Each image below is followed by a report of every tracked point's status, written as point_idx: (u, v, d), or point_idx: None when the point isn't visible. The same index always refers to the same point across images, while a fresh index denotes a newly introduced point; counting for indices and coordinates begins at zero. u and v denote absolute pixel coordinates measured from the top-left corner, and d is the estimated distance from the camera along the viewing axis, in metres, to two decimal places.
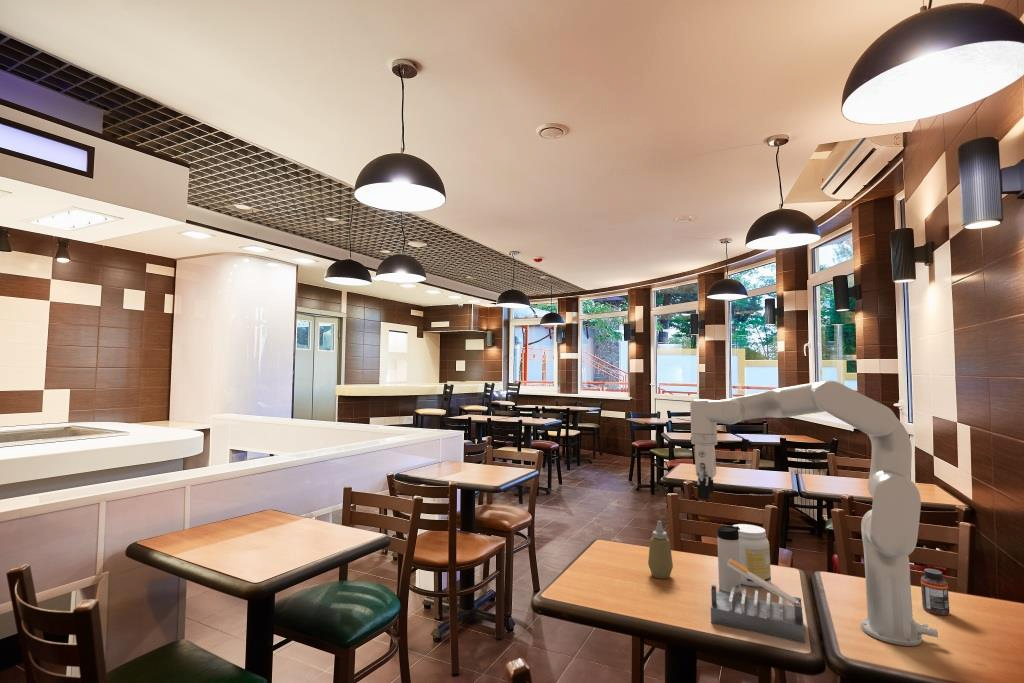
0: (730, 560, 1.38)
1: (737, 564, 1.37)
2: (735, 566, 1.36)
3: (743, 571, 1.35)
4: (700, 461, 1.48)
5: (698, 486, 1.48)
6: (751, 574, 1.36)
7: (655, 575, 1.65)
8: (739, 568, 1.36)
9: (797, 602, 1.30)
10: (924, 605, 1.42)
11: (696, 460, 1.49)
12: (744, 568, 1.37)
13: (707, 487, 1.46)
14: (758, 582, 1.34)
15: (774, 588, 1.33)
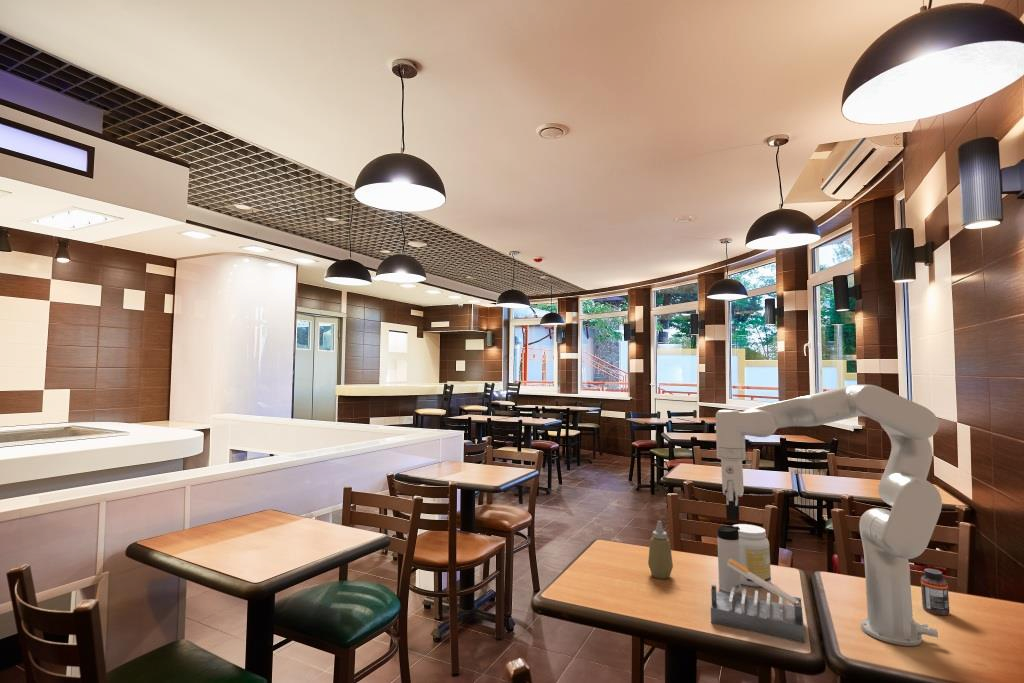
0: (730, 560, 1.38)
1: (737, 564, 1.37)
2: (735, 566, 1.36)
3: (743, 571, 1.35)
4: (728, 478, 1.36)
5: (727, 506, 1.39)
6: (751, 574, 1.36)
7: (655, 575, 1.65)
8: (739, 568, 1.36)
9: (797, 602, 1.30)
10: (924, 605, 1.42)
11: (723, 477, 1.37)
12: (744, 568, 1.37)
13: (737, 507, 1.38)
14: (758, 582, 1.34)
15: (774, 588, 1.33)
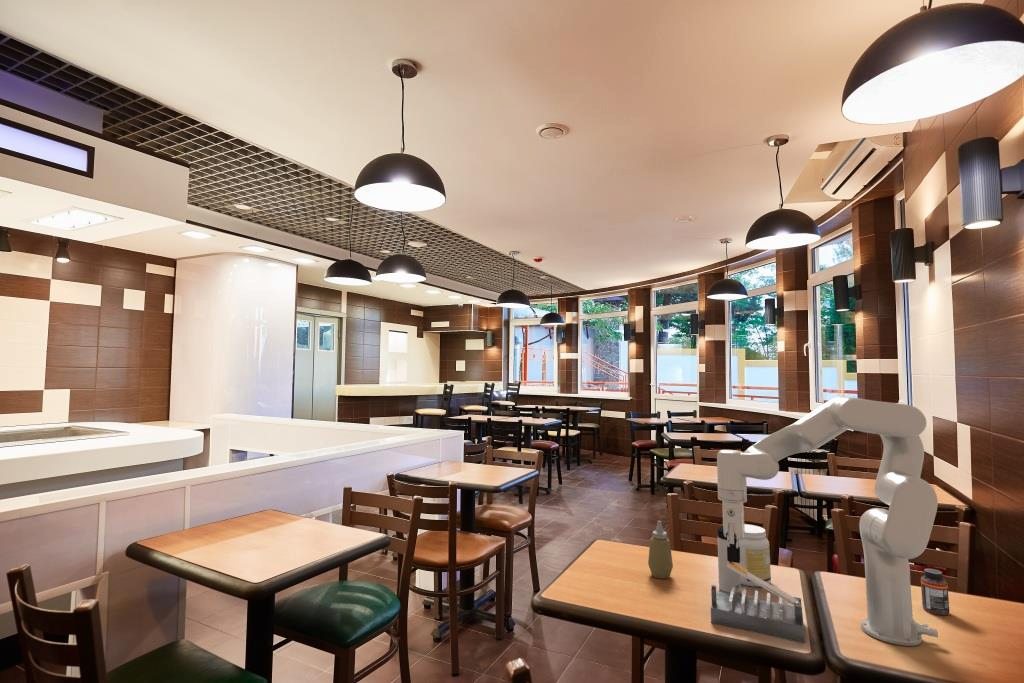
0: None
1: (736, 565, 1.37)
2: (734, 567, 1.37)
3: (743, 572, 1.36)
4: (729, 520, 1.35)
5: (728, 548, 1.38)
6: (750, 575, 1.36)
7: (655, 575, 1.65)
8: (739, 569, 1.36)
9: (797, 602, 1.30)
10: (924, 605, 1.42)
11: (724, 519, 1.36)
12: (744, 569, 1.37)
13: (738, 550, 1.37)
14: (758, 583, 1.34)
15: (774, 588, 1.33)
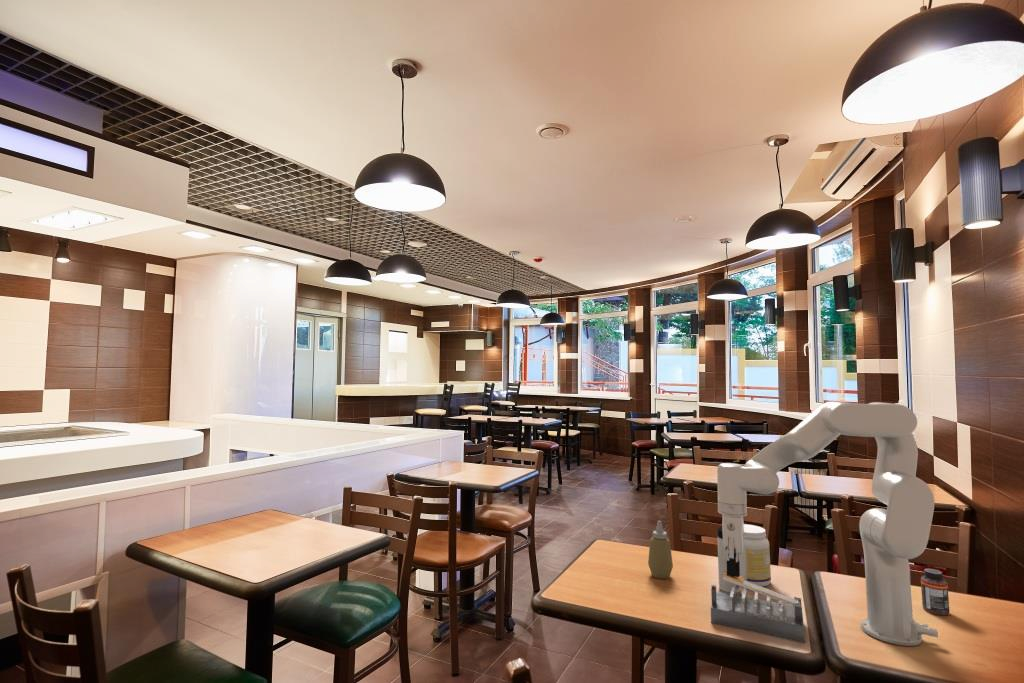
0: (725, 573, 1.39)
1: (732, 576, 1.38)
2: (730, 578, 1.37)
3: (739, 582, 1.36)
4: (728, 535, 1.35)
5: (727, 562, 1.38)
6: (747, 583, 1.36)
7: (655, 575, 1.65)
8: (734, 579, 1.36)
9: (796, 602, 1.30)
10: (924, 605, 1.42)
11: (724, 533, 1.35)
12: (740, 578, 1.37)
13: (737, 564, 1.37)
14: (755, 590, 1.34)
15: (772, 592, 1.33)
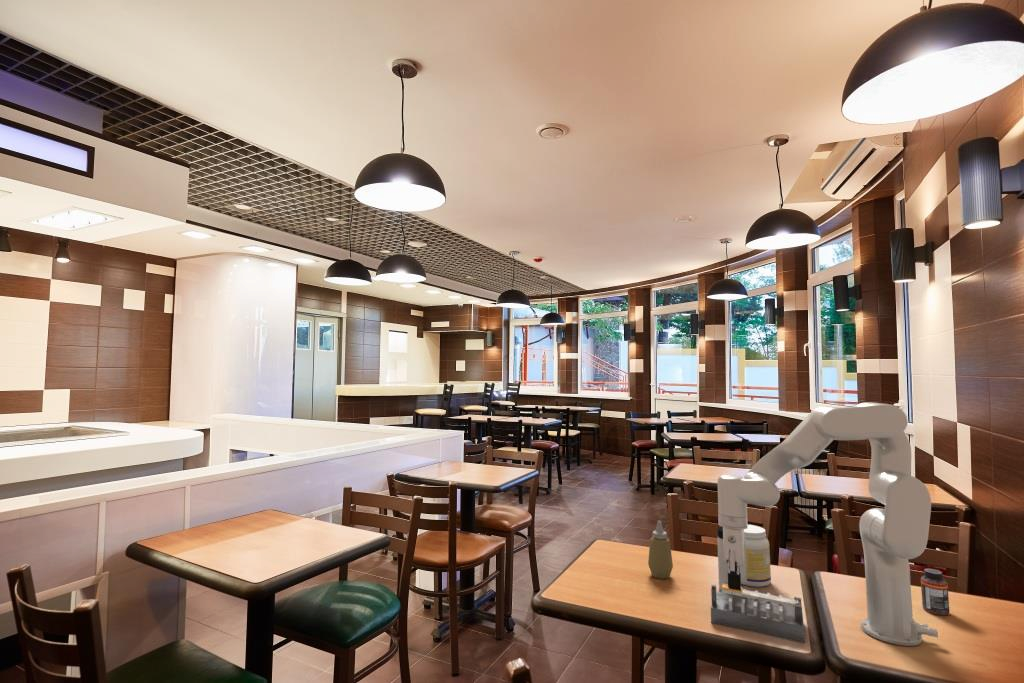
0: (723, 586, 1.39)
1: None
2: (729, 590, 1.37)
3: (738, 592, 1.36)
4: (729, 547, 1.34)
5: (728, 574, 1.38)
6: (746, 592, 1.36)
7: (655, 575, 1.65)
8: (733, 590, 1.36)
9: (796, 602, 1.30)
10: (924, 605, 1.42)
11: (725, 546, 1.35)
12: None
13: (738, 576, 1.37)
14: (755, 597, 1.34)
15: (771, 597, 1.33)
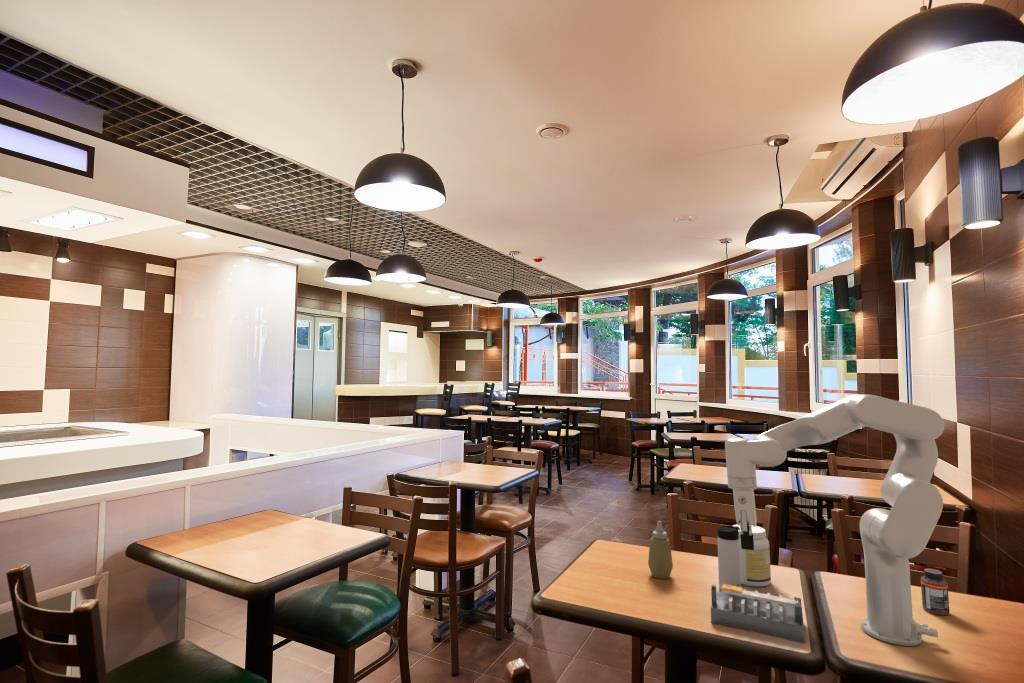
0: (723, 586, 1.39)
1: (730, 587, 1.38)
2: (729, 590, 1.37)
3: (738, 592, 1.36)
4: (740, 508, 1.36)
5: (741, 536, 1.39)
6: (746, 592, 1.36)
7: (655, 575, 1.65)
8: (733, 590, 1.36)
9: (796, 602, 1.30)
10: (924, 605, 1.42)
11: (736, 507, 1.37)
12: (738, 588, 1.37)
13: (751, 537, 1.38)
14: (755, 597, 1.34)
15: (771, 597, 1.33)
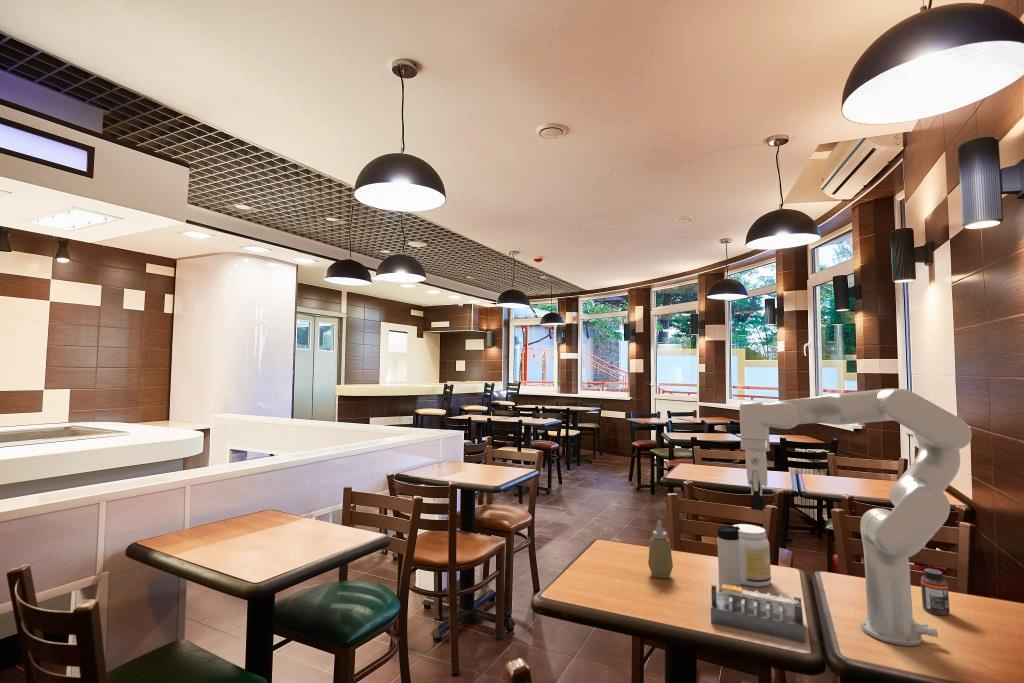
0: (723, 586, 1.39)
1: (730, 587, 1.38)
2: (729, 590, 1.37)
3: (738, 592, 1.36)
4: (753, 468, 1.38)
5: (751, 496, 1.42)
6: (746, 592, 1.36)
7: (655, 575, 1.65)
8: (733, 590, 1.36)
9: (796, 602, 1.30)
10: (924, 605, 1.42)
11: (748, 467, 1.39)
12: (738, 588, 1.37)
13: (761, 498, 1.41)
14: (755, 597, 1.34)
15: (771, 597, 1.33)
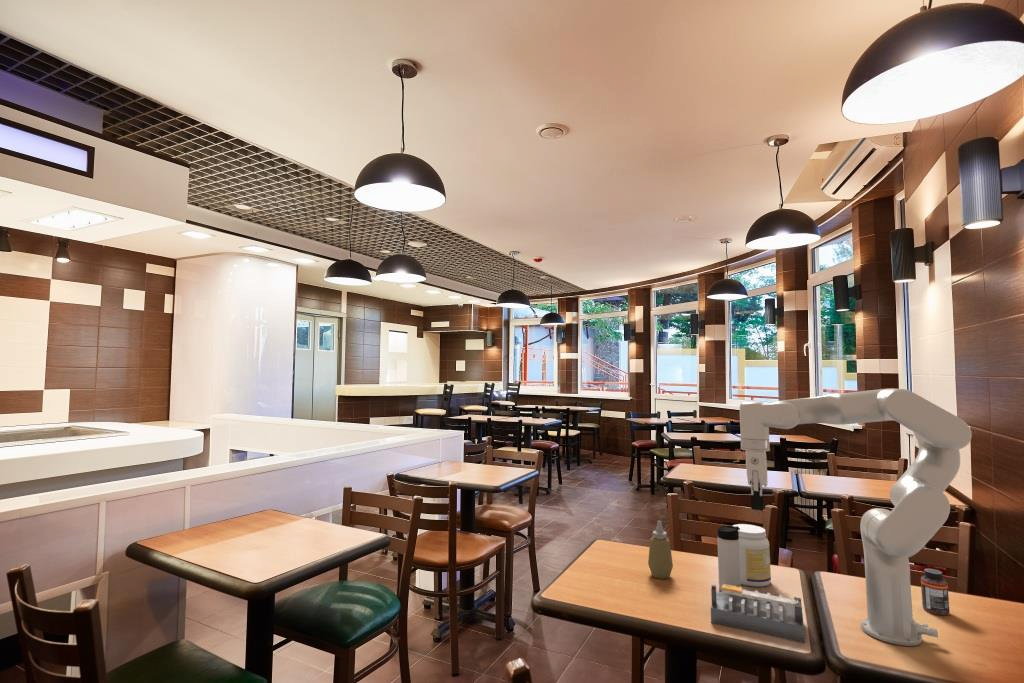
0: (723, 586, 1.39)
1: (730, 587, 1.38)
2: (729, 590, 1.37)
3: (738, 592, 1.36)
4: (753, 468, 1.38)
5: (751, 496, 1.42)
6: (746, 592, 1.36)
7: (655, 575, 1.65)
8: (733, 590, 1.36)
9: (796, 602, 1.30)
10: (924, 605, 1.42)
11: (748, 467, 1.39)
12: (738, 588, 1.37)
13: (761, 498, 1.41)
14: (755, 597, 1.34)
15: (771, 597, 1.33)
